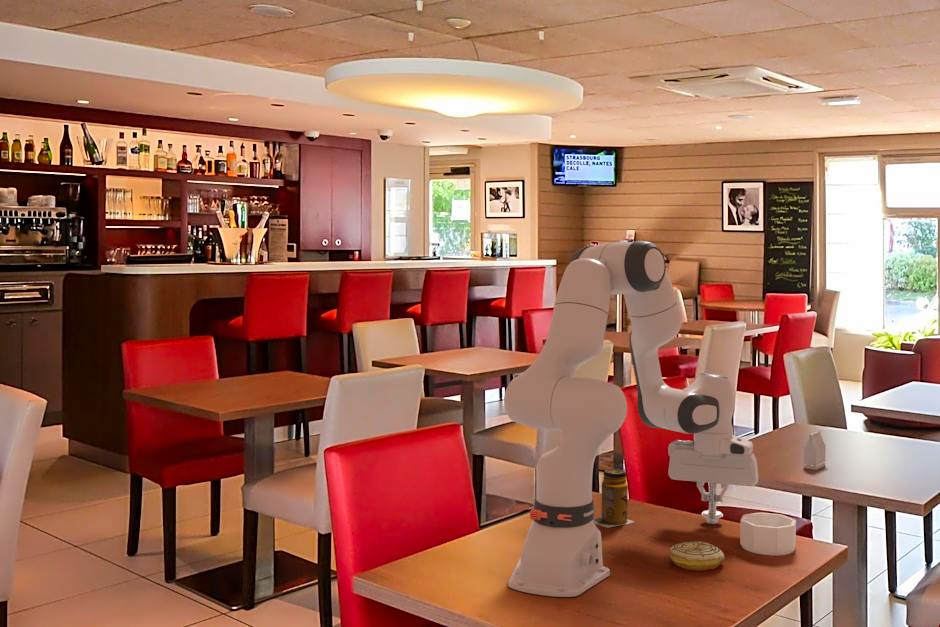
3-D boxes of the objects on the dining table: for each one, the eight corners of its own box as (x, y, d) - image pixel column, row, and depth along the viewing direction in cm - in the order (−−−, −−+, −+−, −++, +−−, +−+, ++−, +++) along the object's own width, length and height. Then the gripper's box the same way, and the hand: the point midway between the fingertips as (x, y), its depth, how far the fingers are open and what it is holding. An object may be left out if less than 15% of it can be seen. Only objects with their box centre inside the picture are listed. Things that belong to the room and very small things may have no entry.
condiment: (635, 522, 224) (635, 472, 223) (608, 528, 220) (608, 477, 219) (614, 515, 230) (614, 466, 230) (587, 521, 226) (587, 471, 225)
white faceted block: (825, 465, 280) (825, 432, 279) (816, 469, 275) (816, 435, 274) (812, 463, 282) (813, 430, 282) (803, 468, 277) (804, 433, 277)
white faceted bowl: (792, 558, 198) (792, 529, 198) (737, 551, 202) (738, 524, 202) (796, 543, 208) (797, 516, 208) (745, 537, 212) (745, 510, 212)
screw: (697, 520, 225) (715, 518, 227) (708, 526, 221) (727, 524, 222) (698, 466, 224) (716, 464, 226) (709, 471, 220) (727, 469, 221)
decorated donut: (732, 563, 196) (733, 545, 196) (706, 577, 188) (707, 558, 188) (687, 552, 203) (687, 535, 203) (660, 565, 195) (660, 547, 195)
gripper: (665, 441, 223) (665, 500, 224) (756, 448, 215) (755, 509, 216) (671, 436, 229) (670, 493, 230) (759, 443, 221) (758, 502, 222)
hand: (712, 501), depth 223 cm, fingers closed on screw, 2 cm apart
